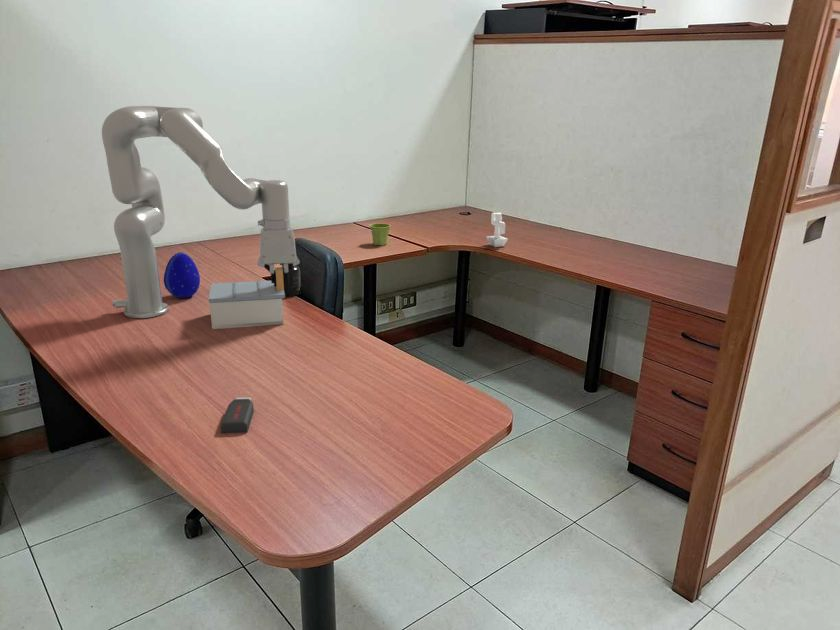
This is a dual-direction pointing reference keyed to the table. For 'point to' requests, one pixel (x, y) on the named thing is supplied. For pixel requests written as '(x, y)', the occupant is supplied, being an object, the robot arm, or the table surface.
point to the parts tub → (246, 313)
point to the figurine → (497, 231)
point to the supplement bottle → (292, 281)
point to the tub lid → (248, 289)
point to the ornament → (181, 276)
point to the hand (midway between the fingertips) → (279, 284)
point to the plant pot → (380, 233)
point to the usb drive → (238, 416)
